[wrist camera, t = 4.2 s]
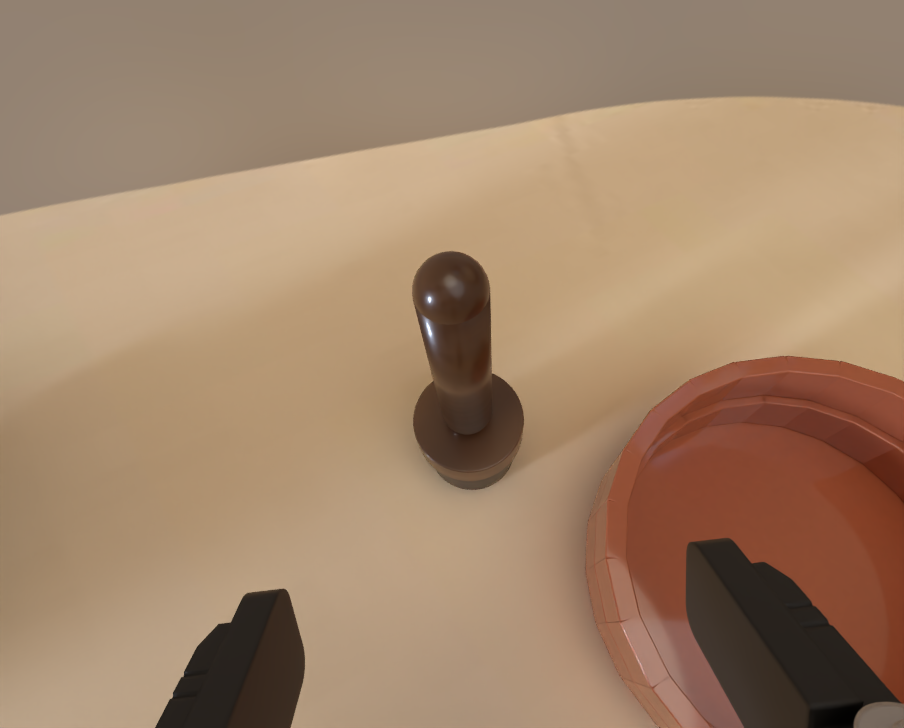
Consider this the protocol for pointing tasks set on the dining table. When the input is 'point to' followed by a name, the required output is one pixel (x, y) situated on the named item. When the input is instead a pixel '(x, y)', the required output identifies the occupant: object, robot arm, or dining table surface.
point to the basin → (753, 519)
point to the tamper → (462, 377)
